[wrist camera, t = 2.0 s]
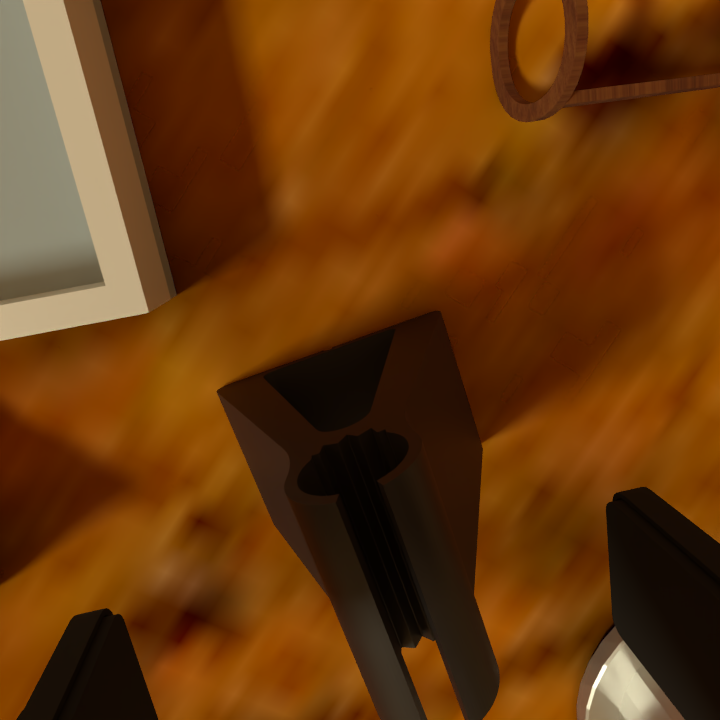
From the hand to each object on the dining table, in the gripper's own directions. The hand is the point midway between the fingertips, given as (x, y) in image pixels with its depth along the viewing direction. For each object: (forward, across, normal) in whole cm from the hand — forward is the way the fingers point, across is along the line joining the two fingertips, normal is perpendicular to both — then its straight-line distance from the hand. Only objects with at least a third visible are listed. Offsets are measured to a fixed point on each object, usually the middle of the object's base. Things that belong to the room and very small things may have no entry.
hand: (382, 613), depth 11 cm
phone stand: (+12, -1, +1) cm, 12 cm away
